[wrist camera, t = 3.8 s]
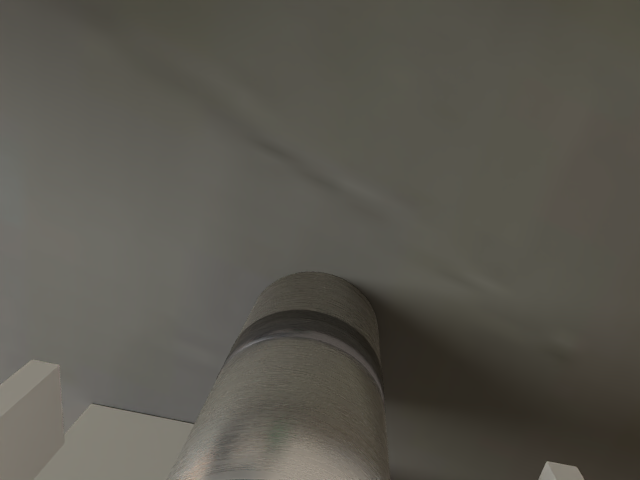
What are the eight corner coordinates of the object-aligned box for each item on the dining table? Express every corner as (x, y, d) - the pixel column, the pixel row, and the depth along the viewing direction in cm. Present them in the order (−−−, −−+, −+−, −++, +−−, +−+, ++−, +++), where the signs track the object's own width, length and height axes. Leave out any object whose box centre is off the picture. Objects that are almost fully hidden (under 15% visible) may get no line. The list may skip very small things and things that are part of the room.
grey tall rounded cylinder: (256, 260, 16) (-3, 673, 4) (391, 285, 16) (476, 778, 4) (243, 371, 18) (36, 867, 6) (364, 394, 17) (375, 947, 6)
